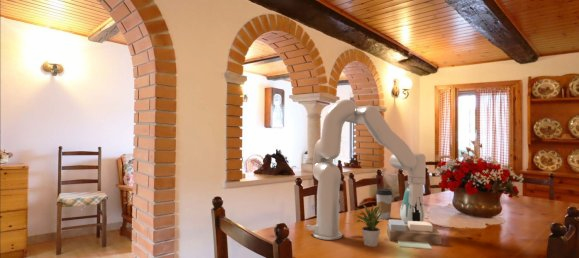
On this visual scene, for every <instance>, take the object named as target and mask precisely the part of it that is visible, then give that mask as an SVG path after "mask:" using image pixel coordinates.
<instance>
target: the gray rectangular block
mask: <svg viewBox="0 0 579 258" xmlns="http://www.w3.org/2000/svg"><path fill="white" fill-rule="evenodd" d="M388 224H389V227H390V229H391V231H406V225H407V224H406V223H404V221H403V220H402V219H388Z"/></svg>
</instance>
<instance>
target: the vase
mask: <svg viewBox="0 0 579 258" xmlns="http://www.w3.org/2000/svg"><path fill="white" fill-rule="evenodd" d="M412 212H413V211H412V206H411V205H410V204H409V186H408V187H406V189H405V191H404V194H403V199H402V201H401V206H400V209H399V216H400V220H403V221H404V223H405V225H408V221H413V220H412ZM424 219H425V208H424V205H423V206H422V207H421V206H420V222H424Z"/></svg>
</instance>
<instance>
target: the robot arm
mask: <svg viewBox="0 0 579 258" xmlns="http://www.w3.org/2000/svg"><path fill="white" fill-rule="evenodd" d="M327 111H328V112H327V113H326V115H325V116H324V118H323V123H322V129H321V138H320V139H318V140H317V141H316V142H315V145H314V149H313V157H312V158H313V160H312V174H313V175H312V176H313V177H314V179H315V180H317V182H318V183H317V191H316V223H315V224H313V225H312V224H306V230H308V231H313V232H312V236H313V237H315V238H316V239H318V240H319V239H320V240H326V241H334V240H340V239H341V238H342V237H343V233H342V232H341V231H339V230H340V229H339V227H340V226H339V225H340V224H339V223H340V187H341V181H342V173H341V170H340V168H339V166H337V164H334V160H335V159H337V158H338V157H339V156H340V153H341V148H342V147H341V144H342V143H341V142H342V133H343V132H342V131H343V126H344V124H345V123H346V122H347V123H351V124H355V125H356V124H357V125H363V126H365V127H366V129H367V131H368V132H369V133H370V134H371V137H373V139H374V141H375V142H377V144H378V145H381V146H382V147H385V149H387V150H389V152H391V153H392V154H391V155H390V157H389V160H388V161H389V163H390V165H391V167H392V168H394V169H396V170H402V171H407V184H409V186H408V187H409V204H410V205H411V206H412V211H413V212H412V220H413V221H420V206H421V207H422V206H423V207H424V185H426V167H427V166H426V163H427V162H426V155H425V154H424V153H418V152H415V153H414V152H413V151H412V149H411V147H410V146H409V145H408V144H407V143H406V142H405V141H404V140H403V139H402V138H401V137H400V136H399V135H398V134H396V133H395V131H393V130H392V128H391V127H390V125H389V124H388V123H387V121H386V119H385V118H384V117H383V115H382V114H381V112H380V111H379V110H378V108H377V107H376V106H375V105H370V104H369V105H356V102H355V101H353V100H352V99H347V98H346V99H341V100H340V101H339V100H338V101H336V102H335V103H332V105H331V107H330V109H329V110H327Z"/></svg>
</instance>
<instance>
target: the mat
mask: <svg viewBox="0 0 579 258" xmlns="http://www.w3.org/2000/svg"><path fill="white" fill-rule="evenodd" d="M396 242H397V244H398V246H399V248H410V249H421V250H422V249H423V250H433V248H432V246H431V244H429V243H425V242H410V241H396Z"/></svg>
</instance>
